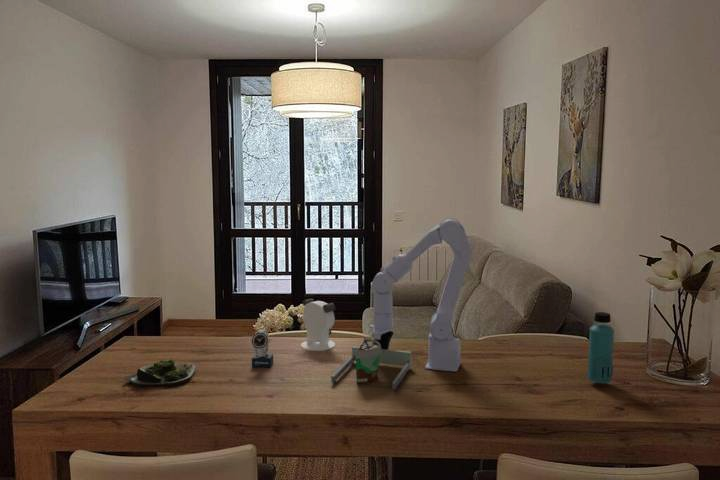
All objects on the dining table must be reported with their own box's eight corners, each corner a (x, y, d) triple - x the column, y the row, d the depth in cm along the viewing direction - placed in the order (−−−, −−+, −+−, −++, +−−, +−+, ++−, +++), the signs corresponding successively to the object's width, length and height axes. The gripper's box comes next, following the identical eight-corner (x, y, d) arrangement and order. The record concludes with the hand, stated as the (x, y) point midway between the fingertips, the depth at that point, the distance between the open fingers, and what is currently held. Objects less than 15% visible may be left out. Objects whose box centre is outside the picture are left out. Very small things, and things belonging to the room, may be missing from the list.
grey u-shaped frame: (411, 367, 177) (411, 351, 177) (395, 392, 159) (395, 374, 158) (353, 361, 183) (353, 346, 182) (331, 384, 164) (331, 367, 164)
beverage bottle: (600, 390, 160) (604, 317, 157) (581, 382, 166) (584, 311, 163) (617, 386, 163) (621, 314, 160) (597, 378, 169) (601, 309, 166)
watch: (250, 370, 176) (249, 334, 175) (256, 361, 184) (255, 326, 183) (269, 370, 176) (268, 334, 174) (274, 361, 184) (273, 326, 182)
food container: (377, 387, 162) (377, 352, 161) (355, 386, 164) (355, 350, 162) (385, 372, 174) (385, 338, 173) (364, 370, 176) (364, 337, 174)
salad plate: (143, 365, 182) (142, 350, 181) (202, 364, 183) (202, 349, 182) (120, 389, 163) (119, 373, 162) (186, 388, 163) (185, 372, 163)
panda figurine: (343, 345, 199) (343, 301, 197) (319, 353, 191) (319, 307, 189) (317, 338, 207) (317, 295, 205) (293, 346, 199) (292, 301, 197)
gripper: (376, 305, 187) (376, 347, 189) (363, 317, 174) (363, 362, 175) (398, 306, 185) (398, 349, 187) (386, 318, 172) (386, 364, 173)
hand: (382, 355), depth 181 cm, fingers closed
